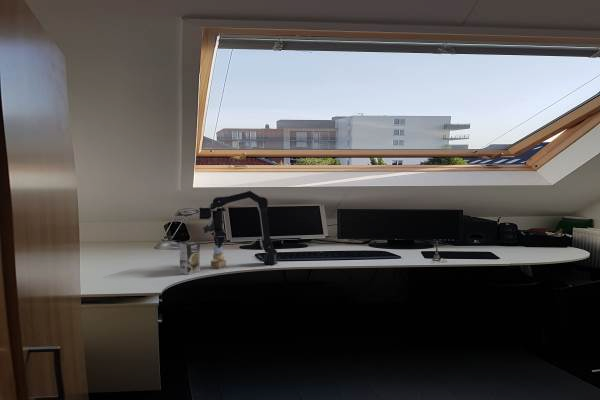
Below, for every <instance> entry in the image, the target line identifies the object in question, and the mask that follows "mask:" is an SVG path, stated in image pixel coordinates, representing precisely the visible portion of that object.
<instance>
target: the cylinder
mask: <svg viewBox="0 0 600 400" xmlns="http://www.w3.org/2000/svg"><path fill="white" fill-rule="evenodd" d="M222 250H223V247H222V245H221V248H218V245H214V246H213V254H222V253H223V251H222Z"/></svg>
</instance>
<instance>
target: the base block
mask: <svg viewBox="0 0 600 400" xmlns="http://www.w3.org/2000/svg"><path fill="white" fill-rule="evenodd" d="M226 267H227V260H226V259H224V260H223V261H222V262H213V260H210V269H215V270H216V269H217V270H221V269H224V268H226Z"/></svg>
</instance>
